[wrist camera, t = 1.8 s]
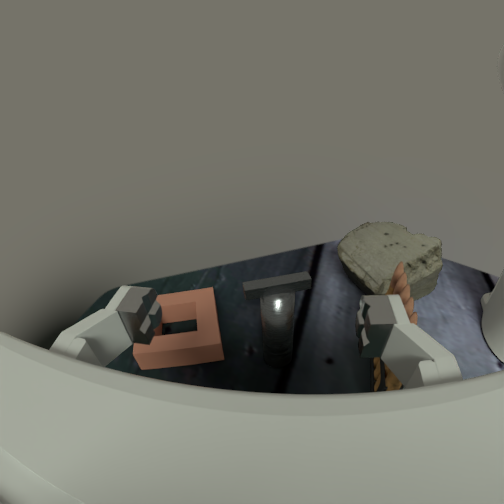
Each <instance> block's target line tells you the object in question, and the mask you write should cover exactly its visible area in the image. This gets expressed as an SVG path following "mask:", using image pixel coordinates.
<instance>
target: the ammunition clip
mask: <svg viewBox="0 0 504 504" xmlns="http://www.w3.org/2000/svg"><path fill="white" fill-rule="evenodd" d="M396 294H398V295H399V296H400V298H401V300H402V303H403V305H404V308H405V310H406V313H407V316H408V318H409V321H410V323H414V324H415V325H417V312H414V313H413V307H414V300H413V297H410V285H409V284H407V275H406V272H404V266H403V262H402V261H401V262H400V263H399V264H398V265H397V267H396V269H395V271H394V274H393V276H392V279H391V283H390V285H389V289H388V291H387V293H386V295H396ZM412 313H413V314H412ZM402 389H403V384H402V383H401V382H400V381H399V379H398V378H397V377H396V376H395V375H394V373H393V372H392V371H391V370H390V369H389V367H388V366H387V365H386V364H385V363H384V362H383V360H382V359H381V357H374V358H370V392H382V391H393V390H402Z"/></svg>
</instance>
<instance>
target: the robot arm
mask: <svg viewBox="0 0 504 504" xmlns="http://www.w3.org/2000/svg"><path fill="white" fill-rule="evenodd" d="M497 67H498V77H499V81H500V85H501V88H502V90H503V93H504V44H503V46H502V48H501V50H500V52H499V56H498V63H497ZM157 297H158V296H157V293H156V290H155V289H153V288H145V287H135V286H133V287H132V286H121V287H120V288H119V290H118V291H117V293H116V294H115V295H114V297H113V298H112V300H111V301H110V302H109V304H108V305H107V307H106V308H105V309H101V310H99V311H97V312H96V313H94V314H92V315H90V316H89V317H87V318H85V319H84V320H82V321H80V322H78V323H77V324H75V325H73V326H71V327H70V328H68V329H67V330H65V331H63V332H61V334H60V335H59V337H58V338H57V339H56V341H55V343H54V344H53V345H52V347H51V348H50V350H47V349H44V348H41V347H38V346H36V345H33V344H30V343H28V342H25V341H23V340H20V339H18V338H15V337H13V336H11V335H8V334H7V333H4V332H0V504H504V370H502V371H498V372H494V373H491V374H487V375H483V376H478V377H474V378H470V379H465V380H463V378H462V375H461V372H460V370H459V367H458V364H457V362H456V359H455V356H454V355H453V354H451V353H450V352H449V351H448V350H446V349H445V348H444V347H443V346H442V345H440V344H439V343H438V342H437V341H435V340H434V339H433V338H432V337H430V336H429V335H428V334H427V333H425V332H424V331H423V330H422V329H420V328H419V327H418V326H417V325H415V324H414V323H410V321H409V318H408V316H407V313H406V310H405V308H404V305H403V303H402V300H401V298H400V296H399V295H398V294H396V295H368V296H361V298H360V303H359V305H360V310H359V311H358V312H357V316H356V324H355V327H356V336H357V337H358V338H360V339H359V343H358V347H359V353H360V358H374V357H381V359H382V360H383V362H384V363H385V364H386V365H387V366H388V367H389V369H390V370H391V371H392V372H393V373H394V375H395V376H396V377H397V378H398V379H399V381H400V382H401V383H402V384H403V385H404V387H405V388H404V389H402V390H393V391H382V392H369V393H351V394H277V393H259V392H246V391H235V390H225V389H216V388H208V387H201V386H193V385H187V384H181V383H175V382H169V381H163V380H158V379H153V378H148V377H143V376H138V375H134V374H129V373H125V372H121V371H117V370H113V369H109V368H105V366H106V365H107V364H108V363H110V362H111V361H112V360H113V359H115V358H116V357H117V356H118V355H119V354H121V353H122V352H123V351H124V350H125V349H127V348H128V347H129V346H130V345H131V344H132V343H138V344H145V345H150V343H151V341H152V339H153V337H154V335H155V331H154V329H155V328H157V327H158V326H159V325H160V323H161V320H162V308H161V305H160V304H159V303H158V302H157V301H156V298H157ZM481 305H482V308H483V316H482V330H483V334H484V337H485V339H486V341H487V343H488V345H489V347H490V348H491V350H492V351H493V352H494V354H495V355H496V356H497V357H498V358H499V359H500V360H501V361H502V362H503V363H504V269H503V271H502V274H501V276H500V278H499V280H498V282H497V284H496V285H495V287H494V289H493V291H492V292H491V293H486V294H484V295H483V297H482V298H481Z"/></svg>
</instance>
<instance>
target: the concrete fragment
mask: <svg viewBox="0 0 504 504" xmlns="http://www.w3.org/2000/svg"><path fill="white" fill-rule="evenodd" d="M441 245H442V243H441V240H440V239H438V238H436V237H427V236H425V235H424V234H414V235H413V234H411V233H410V232H407V228H406V227H404V226H402V225H400V224H399V225H398V224H395V223H393V222H375V223H369V222H367V223H365V224H362V225H360V226H359V227H358V228H356V229H354V230H352V231H351V232H349V233H348V234H347V235H346V236H345V237H344V238H343V239H342V240H341V242H340V243H339V244H338V248H337V249H338V256H339V259H340V261H341V263H342V266H343V269H344V271H345V272H346V274H347V275H348V277H349V278H350V279H351V280H352V281H353V282H354V283H355V284H356V285H357V286H358V287H359V288H360V289H361V290H362V291H364V292H365V293H366V294H367V295H386V293H387V291H388V289H389V285H390V283H391V279H392V276H393V274H394V271H395V269H396V267H397V265H398V264H399V263H400V262H401V261H402V262H403V266H404V272H406V275H407V284H409V285H410V297H413V300H414V301H415V300H416V299H417V300H418V299H420V298H422V297H423V296H426V295H428V294H429V293H431V292H432V291H433V290H434V289H435V286H436V285H437V279H438V274H439V272H440V271H441V270H442V266H443V264H442V260H441V256H442V253H441V252H442V249H441Z"/></svg>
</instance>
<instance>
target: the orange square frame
mask: <svg viewBox="0 0 504 504" xmlns="http://www.w3.org/2000/svg"><path fill="white" fill-rule="evenodd" d="M157 296H158V297H157V298H156V301H157V302H158V303H159V304H160V305H161V308H162V320H161V323H160V325H159V326H158V327H157V328H155V329H154V331H155V335H154V337H153V339H152V341H151V343H150V345H145V344H138V343H134V348H133V355H134V357H135V359H136V361H137V363H138V364H139V366H140V368H141V370H145V369H156V368H166V367H175V366H184V365H192V364H199V363H207V362H213V361H220V360H224V354H223V348H222V341H221V335H220V328H219V322H218V315H217V308H216V302H215V296H214V291H213V287H211V288H204V289H198V290H191V291H185V292H178V293H171V294H164V295H157ZM192 319H197V330H198V331H193V332H185V333H178V334H170V335H162V323H170V322H177V321H185V320H192Z"/></svg>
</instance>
